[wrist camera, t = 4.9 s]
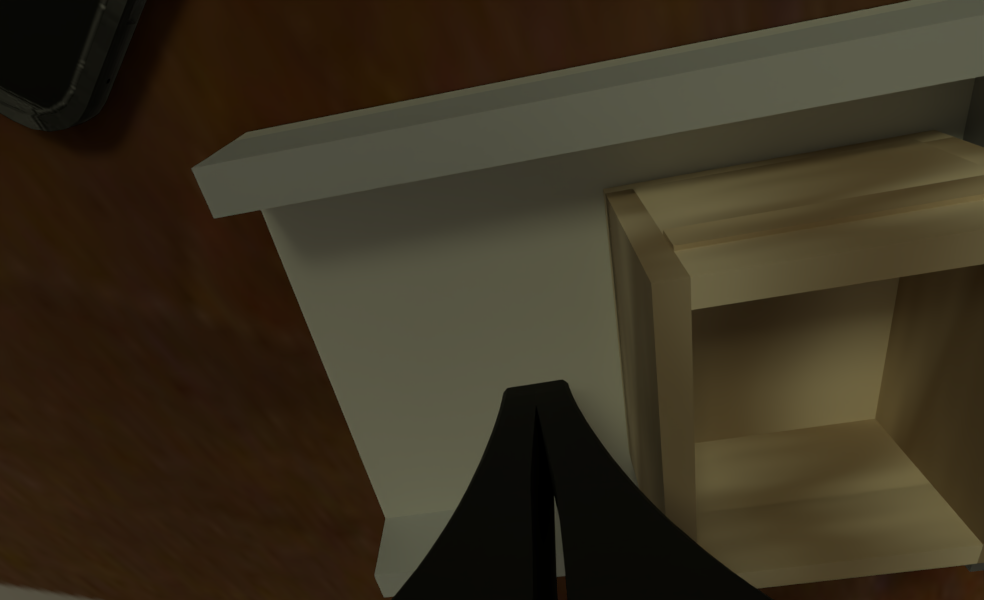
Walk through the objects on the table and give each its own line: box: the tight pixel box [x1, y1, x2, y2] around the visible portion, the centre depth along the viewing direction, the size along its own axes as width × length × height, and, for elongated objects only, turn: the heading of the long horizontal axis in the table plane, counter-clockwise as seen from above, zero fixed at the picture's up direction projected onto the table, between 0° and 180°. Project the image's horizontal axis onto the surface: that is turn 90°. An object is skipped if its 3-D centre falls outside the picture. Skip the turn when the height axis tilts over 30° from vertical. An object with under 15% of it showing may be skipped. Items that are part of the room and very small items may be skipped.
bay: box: [191, 0, 984, 597], centre depth 13 cm, size 17×13×7 cm
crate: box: [603, 130, 984, 588], centre depth 13 cm, size 7×8×4 cm
